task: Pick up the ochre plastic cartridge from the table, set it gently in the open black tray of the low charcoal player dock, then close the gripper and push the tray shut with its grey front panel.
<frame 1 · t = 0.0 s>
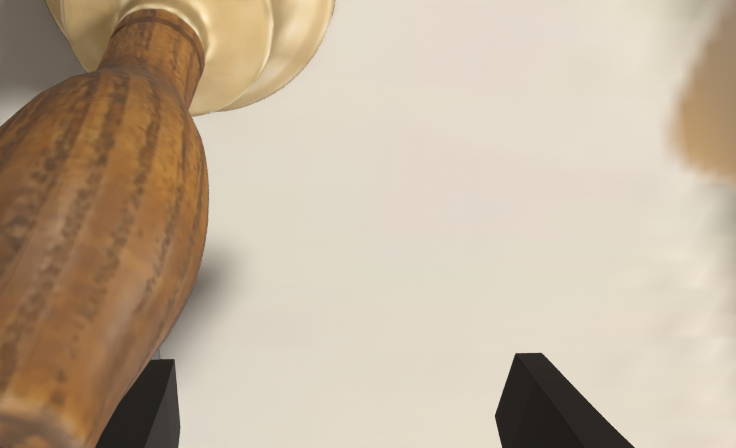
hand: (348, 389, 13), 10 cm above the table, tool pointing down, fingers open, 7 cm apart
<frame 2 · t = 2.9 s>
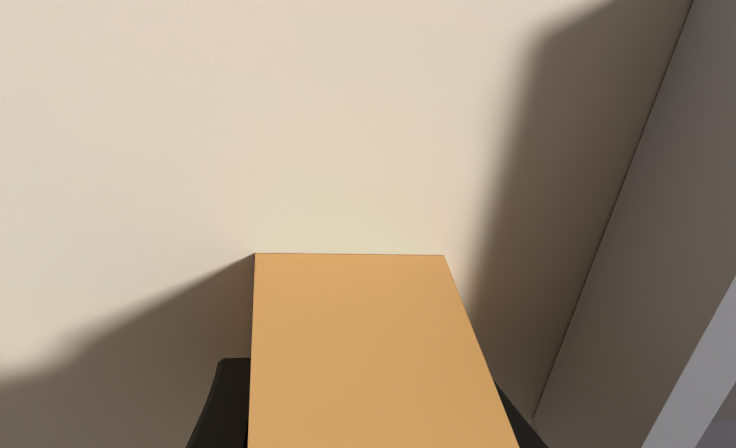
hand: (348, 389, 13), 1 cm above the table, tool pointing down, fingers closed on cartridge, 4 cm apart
cartridge: (341, 341, 14), on the table, touching gripper
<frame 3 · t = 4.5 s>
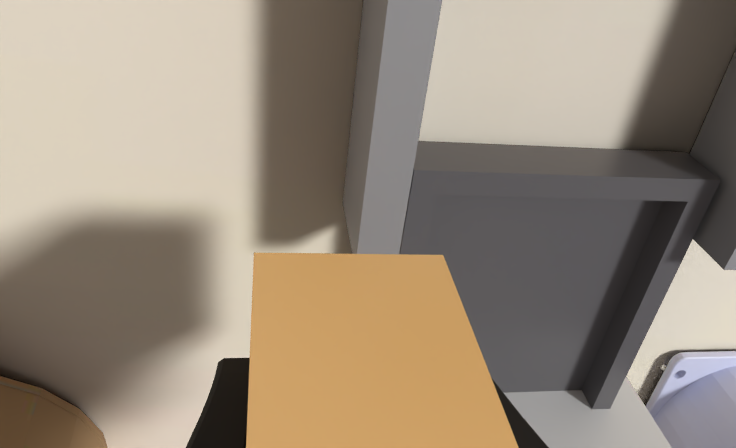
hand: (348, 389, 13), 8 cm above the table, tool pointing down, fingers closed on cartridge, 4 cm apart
player dock: (578, 35, 18), on the table
tray: (530, 326, 21), point 3 cm above the table, slide at 8.0 cm
cartridge: (341, 341, 14), point 7 cm above the table, touching gripper
when the fingers open (4 cm above the table, at t = 6.4 s): cartridge stays where it is, resting on tray.
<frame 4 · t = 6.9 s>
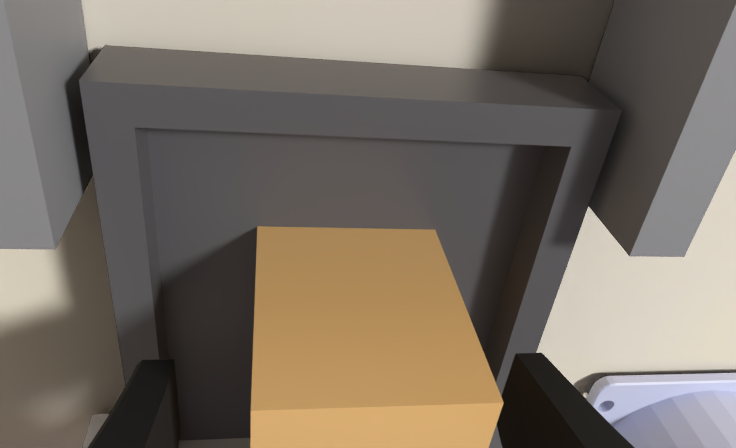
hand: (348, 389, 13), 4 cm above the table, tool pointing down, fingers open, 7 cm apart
tray: (344, 343, 14), point 3 cm above the table, slide at 8.0 cm, touching cartridge
cartridge: (339, 312, 15), point 1 cm above the table, touching tray
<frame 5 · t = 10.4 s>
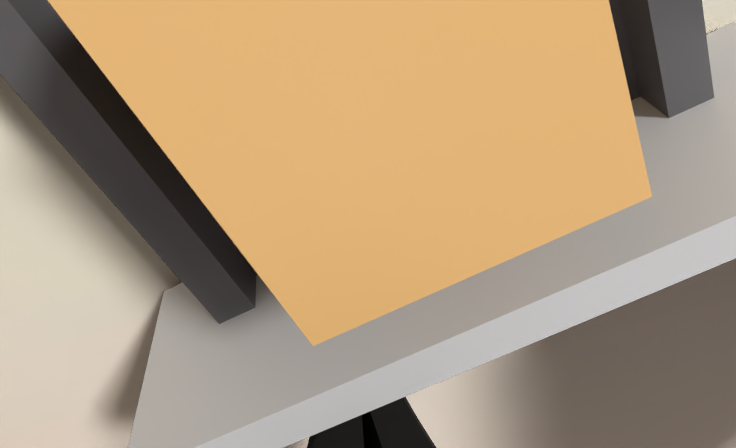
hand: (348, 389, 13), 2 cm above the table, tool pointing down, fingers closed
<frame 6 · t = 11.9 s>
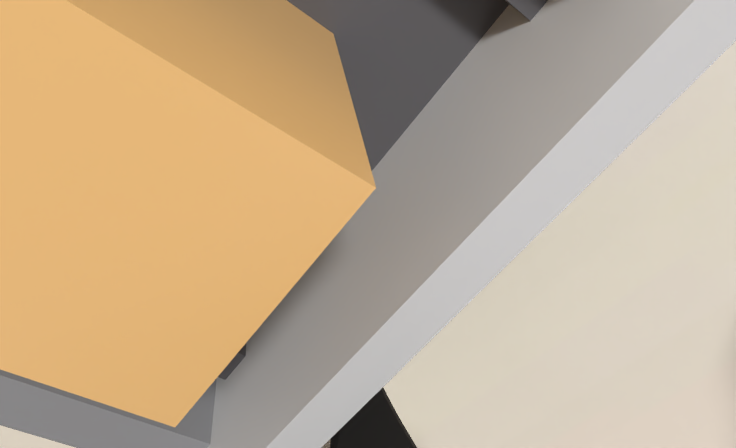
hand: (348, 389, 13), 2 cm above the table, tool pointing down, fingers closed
tray: (92, 64, 8), point 3 cm above the table, slide at -0.1 cm, touching cartridge, gripper, player dock
cartridge: (132, 45, 10), point 1 cm above the table, touching tray
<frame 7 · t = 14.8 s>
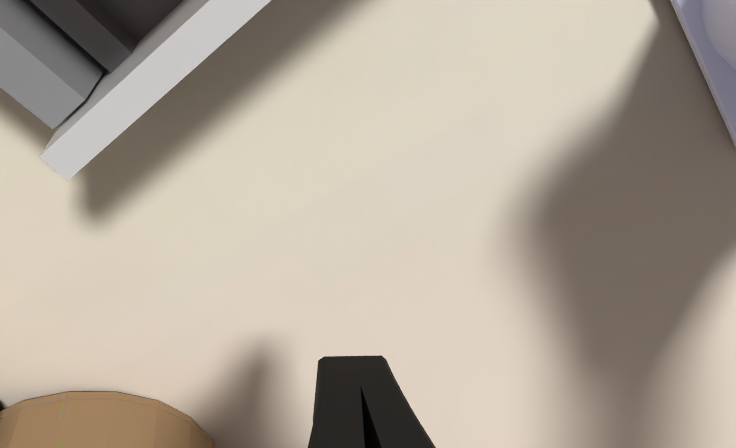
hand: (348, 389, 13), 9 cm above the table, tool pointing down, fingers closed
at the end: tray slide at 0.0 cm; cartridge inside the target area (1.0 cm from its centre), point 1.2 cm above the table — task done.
